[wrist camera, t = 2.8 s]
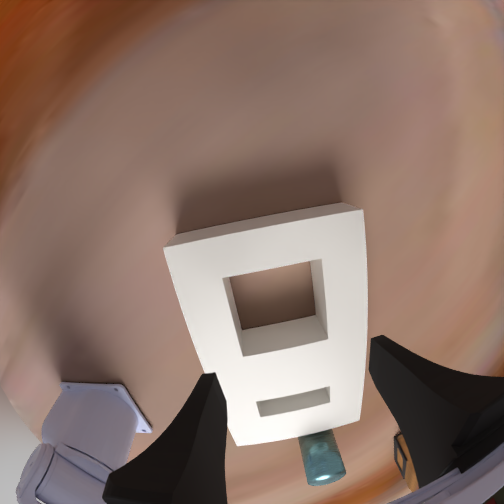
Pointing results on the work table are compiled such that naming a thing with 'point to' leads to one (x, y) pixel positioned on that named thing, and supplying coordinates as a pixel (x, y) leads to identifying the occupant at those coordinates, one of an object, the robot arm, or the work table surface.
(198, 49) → the work table surface
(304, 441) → the teal cylinder
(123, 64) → the work table surface
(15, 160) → the work table surface
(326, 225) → the bore block
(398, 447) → the ammunition clip
